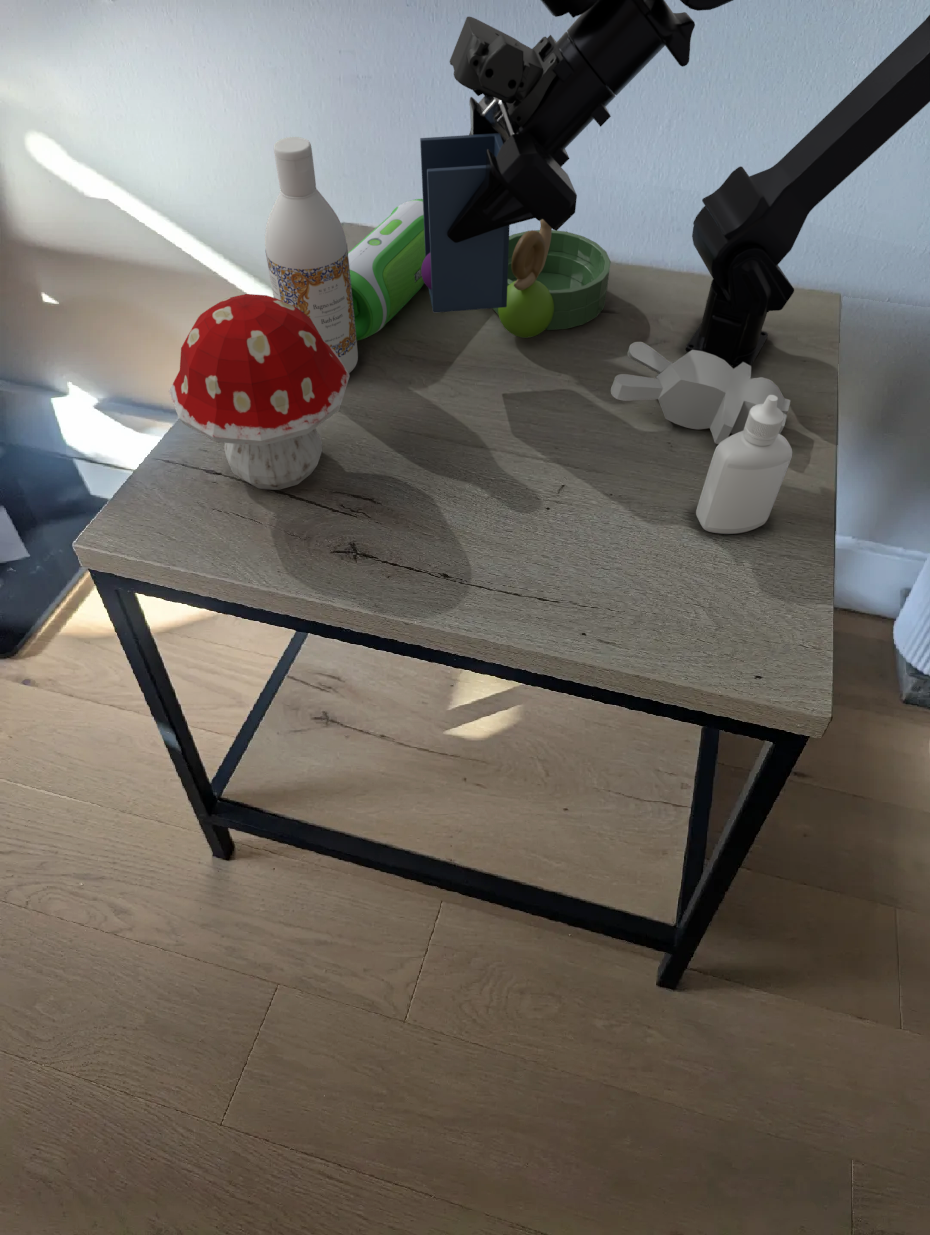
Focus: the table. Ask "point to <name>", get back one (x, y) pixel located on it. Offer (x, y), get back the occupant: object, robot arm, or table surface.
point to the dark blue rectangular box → (448, 183)
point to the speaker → (387, 268)
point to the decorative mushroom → (259, 387)
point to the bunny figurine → (698, 390)
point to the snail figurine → (528, 286)
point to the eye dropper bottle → (746, 473)
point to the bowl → (571, 277)
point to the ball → (426, 271)
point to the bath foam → (310, 251)
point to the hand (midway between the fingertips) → (446, 219)
